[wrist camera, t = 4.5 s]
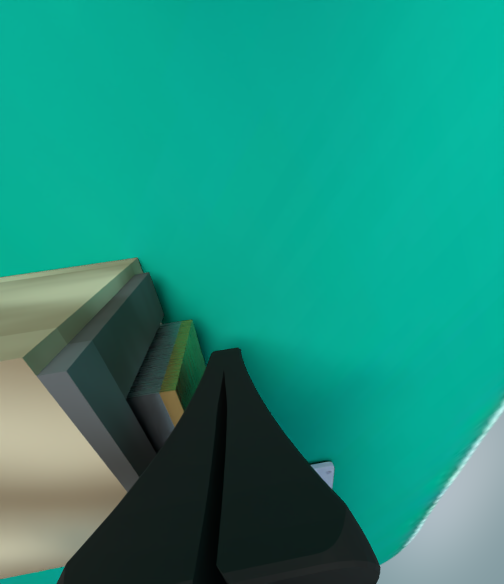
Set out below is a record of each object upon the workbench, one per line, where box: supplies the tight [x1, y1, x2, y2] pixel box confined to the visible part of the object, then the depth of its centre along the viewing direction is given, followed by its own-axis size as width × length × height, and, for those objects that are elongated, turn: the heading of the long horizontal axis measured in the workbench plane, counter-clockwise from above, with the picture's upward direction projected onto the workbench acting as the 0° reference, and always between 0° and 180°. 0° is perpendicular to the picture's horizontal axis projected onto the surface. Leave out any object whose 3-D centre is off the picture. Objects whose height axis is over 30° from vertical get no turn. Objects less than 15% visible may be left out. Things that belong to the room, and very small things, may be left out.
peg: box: [126, 320, 206, 454], centre depth 9 cm, size 4×14×4 cm, turn 97°
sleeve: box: [0, 258, 164, 579], centre depth 9 cm, size 10×11×6 cm
